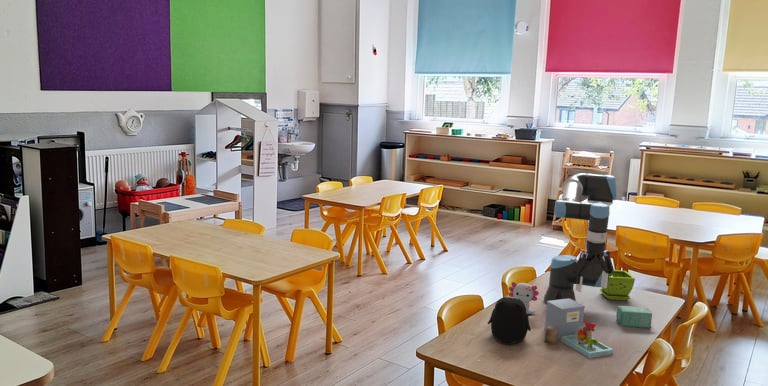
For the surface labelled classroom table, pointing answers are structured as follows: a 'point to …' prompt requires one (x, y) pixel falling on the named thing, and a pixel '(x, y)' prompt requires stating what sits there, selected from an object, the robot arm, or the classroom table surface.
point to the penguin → (509, 320)
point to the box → (634, 316)
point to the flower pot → (618, 286)
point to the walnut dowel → (551, 335)
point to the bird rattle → (586, 334)
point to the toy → (524, 294)
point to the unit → (564, 316)
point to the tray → (582, 348)
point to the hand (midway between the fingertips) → (591, 289)
